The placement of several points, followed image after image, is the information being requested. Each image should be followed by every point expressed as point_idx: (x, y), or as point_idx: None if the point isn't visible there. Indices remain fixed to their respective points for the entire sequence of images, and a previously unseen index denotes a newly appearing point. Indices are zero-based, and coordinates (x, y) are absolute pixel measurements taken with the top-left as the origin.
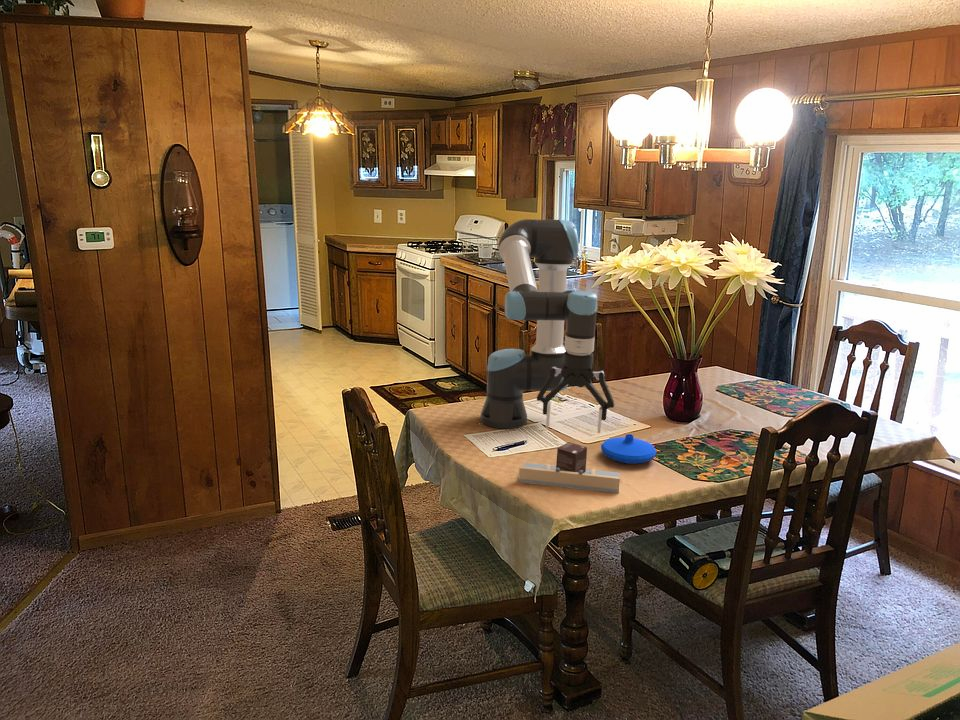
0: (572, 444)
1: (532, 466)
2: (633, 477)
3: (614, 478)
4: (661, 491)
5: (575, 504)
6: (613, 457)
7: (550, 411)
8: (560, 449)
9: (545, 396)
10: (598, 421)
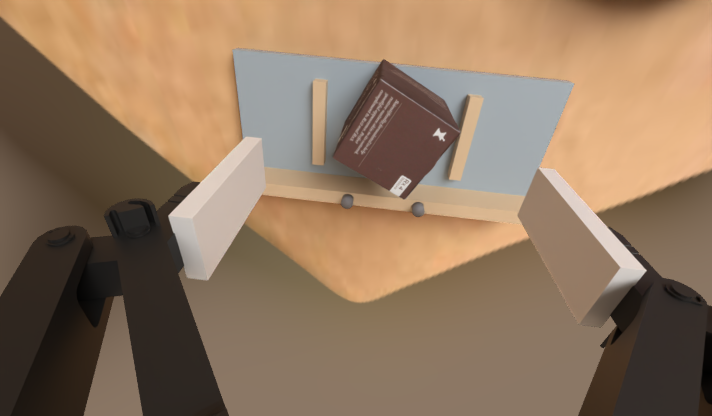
0: (396, 111)
1: (264, 79)
2: (619, 80)
3: (518, 223)
4: (661, 175)
5: (396, 262)
6: None
7: (230, 189)
8: (345, 165)
9: (108, 213)
10: (541, 258)
